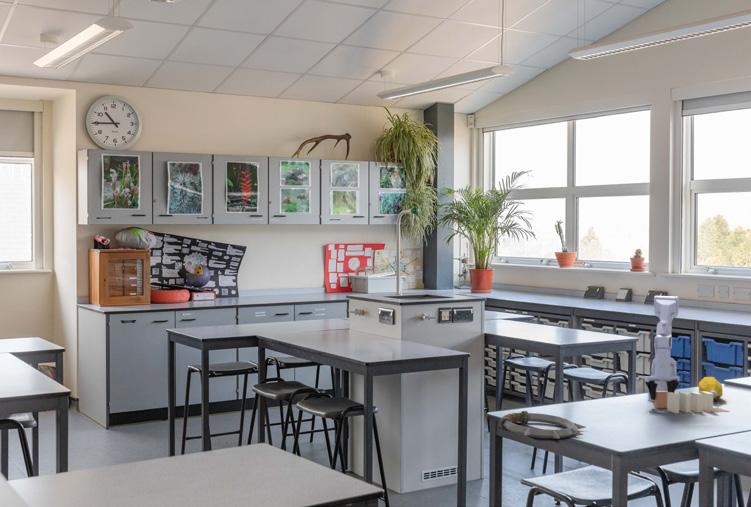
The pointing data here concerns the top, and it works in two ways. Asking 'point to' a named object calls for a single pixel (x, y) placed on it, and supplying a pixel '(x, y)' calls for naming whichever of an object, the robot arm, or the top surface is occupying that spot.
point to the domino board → (697, 412)
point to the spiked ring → (524, 417)
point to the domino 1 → (661, 399)
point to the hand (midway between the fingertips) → (661, 399)
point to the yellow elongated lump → (711, 387)
